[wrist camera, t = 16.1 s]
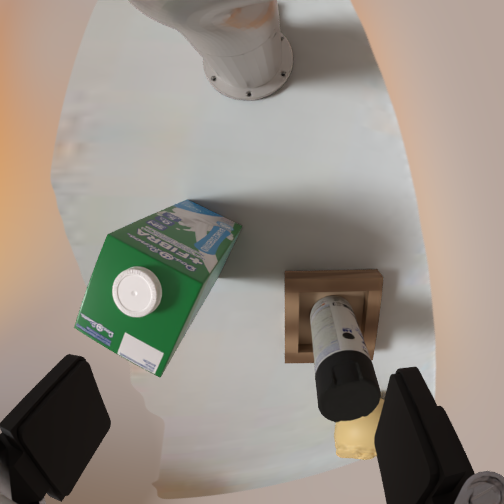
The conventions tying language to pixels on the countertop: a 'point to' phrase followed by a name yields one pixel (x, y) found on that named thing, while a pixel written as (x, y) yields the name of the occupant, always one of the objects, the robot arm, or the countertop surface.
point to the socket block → (321, 285)
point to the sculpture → (358, 436)
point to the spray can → (341, 362)
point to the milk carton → (155, 282)
